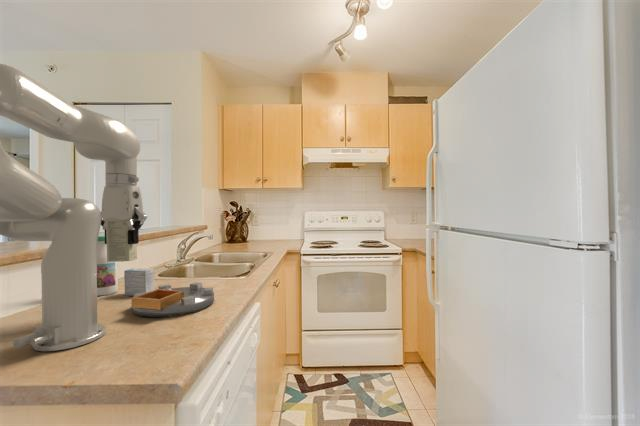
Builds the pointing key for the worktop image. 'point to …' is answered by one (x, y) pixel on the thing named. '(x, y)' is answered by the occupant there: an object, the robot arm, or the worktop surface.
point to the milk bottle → (105, 270)
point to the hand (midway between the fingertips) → (121, 243)
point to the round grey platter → (172, 300)
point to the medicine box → (138, 280)
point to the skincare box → (119, 242)
